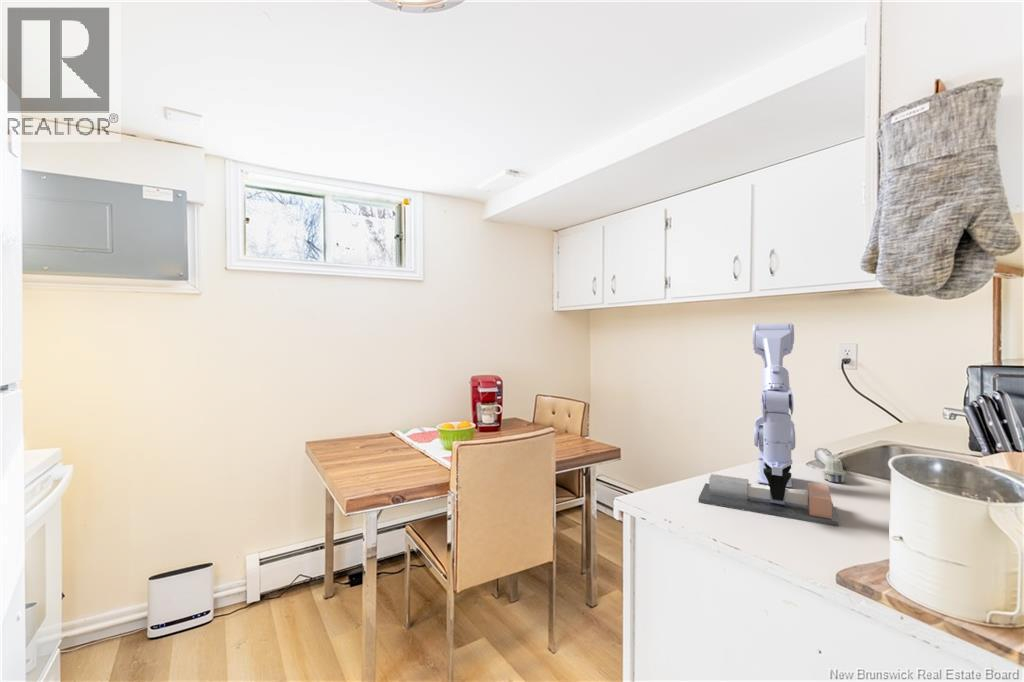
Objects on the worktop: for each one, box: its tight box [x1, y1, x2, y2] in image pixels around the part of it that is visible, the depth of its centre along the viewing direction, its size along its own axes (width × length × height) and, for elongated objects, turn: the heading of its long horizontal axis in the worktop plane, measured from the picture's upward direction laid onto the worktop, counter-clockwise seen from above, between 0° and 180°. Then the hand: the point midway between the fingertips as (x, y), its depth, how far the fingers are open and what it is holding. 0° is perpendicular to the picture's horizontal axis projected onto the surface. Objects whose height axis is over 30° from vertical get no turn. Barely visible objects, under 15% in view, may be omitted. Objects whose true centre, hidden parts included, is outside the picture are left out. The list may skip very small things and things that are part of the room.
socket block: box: [806, 482, 833, 519], centre depth 101 cm, size 10×4×4 cm, turn 148°
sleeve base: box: [698, 473, 839, 527], centre depth 107 cm, size 12×28×5 cm, turn 58°
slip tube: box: [747, 482, 808, 505], centre depth 106 cm, size 4×16×4 cm, turn 58°
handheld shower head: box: [814, 447, 847, 483], centre depth 130 cm, size 5×7×25 cm
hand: (777, 496), depth 105 cm, fingers closed on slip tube, 4 cm apart
